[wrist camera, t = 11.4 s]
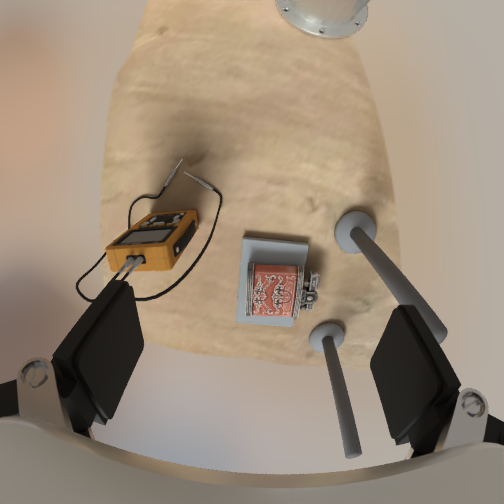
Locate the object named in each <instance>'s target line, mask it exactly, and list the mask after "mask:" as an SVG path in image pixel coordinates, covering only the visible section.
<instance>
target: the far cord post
mask: <svg viewBox="0 0 504 504" xmlns="http://www.w3.org/2000/svg"><path fill="white" fill-rule="evenodd" d="M309 340H310V345H311V347H312V348H313V349H314V350H315V351H317V352H322V353H325V358H326V362H327V367H328V371H329V376H330V380H331V385H332V390H333V394H334V399H335V404H336V409H337V413H338V419H339V424H340V429H341V435H342V440H343V446H344V451H345V457H346V458H348V459H350V458H355V457H357V456H360V455H361V454H362V451H361V446H360V442H359V437H358V432H357V428H356V424H355V420H354V415H353V411H352V407H351V403H350V399H349V396H348V391H347V387H346V384H345V380H344V376H343V372H342V368H341V365H340V361H339V358H338V354H337V350H336V349H337V348H338V347H340V346H341V344H342V343H343V341H344V332H343V330H342V328H341V327H340V326H339V325H338V324H335V323H324V324H321V325H319V326H317V327H316V328H314V329H313V330H312V332H311V334H310V336H309Z"/></svg>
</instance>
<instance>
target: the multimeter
mask: <svg viewBox="0 0 504 504" xmlns="http://www.w3.org/2000/svg"><path fill="white" fill-rule="evenodd" d="M182 160H183V158H182V159H181V161H180V162H179V164H178V165H177V167H176V168H175V169H173V171H172V173H171V174H170V176H169V177H168V179H167V181H166V182H165V185H164V187H163V189H162V191H161V192H160V194H159V195H158V196H157V197H149V196H143V197H140V198H138V199H137V200H136V201H134V202H133V203H132V205H131V207H130V210H129V216H128V230H127V231H126V232H125V233H123V234H122V235H121V236H119V237H118V238H117V239H115V240H114V241H113V242H112V243H111V244H110V245H108V246H107V247H106V249H105V250H106V252H105V253H104V255H103V256H102V257H101V258H100V260H99V261H98V262H97V263H96V264H95V265H94V266H93V267H92V268H91V269H90V270H89V271H88V272H87V273H85V274H84V275H83V276H82V277H81V278H80V279H79V280H78V281H77V283H76V289H77V292H78V293H79V295H80V296H81V297H82V298H83V299H84V300H86V301H88V302H91V303H92V302H93V301H94V300H95V299H93V300H91V299H88V298H86V297H85V296H84V295H83V294H82V293H81V292H80V290H79V288H78V285H79V282H80V281H81V280H82V279H83V278H84V277H85V276H86V275H88V273H90V272H91V271H92V270H93V269H94V268H95V267H96V266H97V265H98V264H99V263H100V261H101V260H102V259H103V258H104V257H105V255H106V254H107V257H108V261H109V264H110V268H111V271H113V272H117V274H116V275H115V276H114V277H113V278H112V279H111V280H113V279H116V278H117V277H118V276H119V275H121V273H122V272H126V274H125V276H124V277H123V278H122V279H121V281H124V280H125V278H126V277H127V276H128V275H130V274H131V273H132V271H168V270H171V269H172V268H173V266H174V265H175V263H176V262H177V260H178V259H179V257H180V256H181V254H182V253H183V251H184V249H185V248H186V246H187V245H188V243H189V242H190V240H191V239H192V237H193V236H194V234H195V232H196V231H197V229H198V228H199V227H198V220H197V212H196V210H184V211H173V212H162V213H151V214H148V215H147V216H146V217H144V218H143V219H142V220H140V221H139V222H137V223H136V224H135V225H134V226H132V227H131V228H130V213H131V209H132V206H133V205H134V204H135V203H136V202H137V201H138V200H140V199H142V198H150V199H157V198H159V197H160V195H161V194H162V192H163V191H164V189H165V187H166V186H167V185H168V184H169V182H170V181H171V179H172V177H173V176H174V174H175V173H176V172H177V170H176V169H177V168H178V166H179V165H180V163H181V162H182ZM184 173H185V174H187V175H188V176H190V177H192V178H194V179H195V180H194V181H197V182H198V183H200V184H202V185H203V186H205V187H207V188H208V189H210V190H213V191H215V192H216V193H217V194H218V195H219V196H220V205H219V208H218V212H217V215H216V219H215V222H214V225H213V228H212V231H211V234H210V236H209V239H208V241H207V243H206V244H205V246H204V248H203V249H202V251H201V253H200V254H199V256H198V257H197V259H196V260H195V261H194V263H193V264H192V265H191V267H190V268H189V269H188V270H187V271H186V272H185V273H184V275H183V276H182V277H181V278H179V279H178V280H177V281H176V282H175V283H174V284H173V285H171V286H170V287H169V288H167V289H166V290H165V291H163V292H161V293H159V294H157V295H155V296H151V297H146V298H135V301H148V300H152V299H156V298H158V297H160V296H162V295H164V294H166V293H168V292H169V291H170V290H172V289H173V288H174V287H176V286H177V285H178V284H179V283H180V282H181V281H182V280H183V279H184V278H185V277H186V276H187V275H188V274H189V272H190V271H191V270H192V269H193V268H194V266H195V265H196V263H197V262H198V261H199V259H200V258H201V256H202V255H203V253H204V251H205V250H206V248H207V246H208V244H209V242H210V240H211V238H212V235H213V232H214V229H215V226H216V222H217V219H218V215H219V211H220V208H221V204H222V196H221V194H220V193H219V192H218V191H217V190H215V189H214V188H213V187H211V186H210V185H208V184H207V183H205V182H203V181H202V180H200V179H198V178H197V177H196V178H195V177H193V176H191V175H190V174H188V173H186V172H184ZM111 280H110V281H111Z"/></svg>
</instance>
